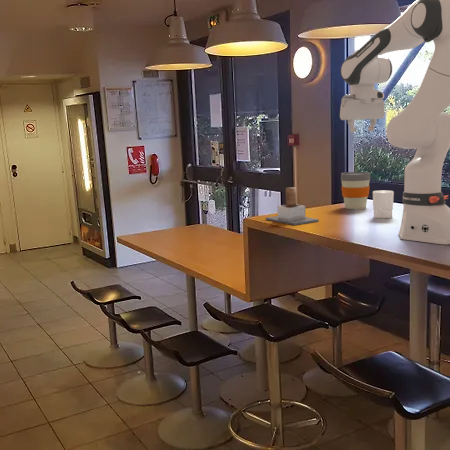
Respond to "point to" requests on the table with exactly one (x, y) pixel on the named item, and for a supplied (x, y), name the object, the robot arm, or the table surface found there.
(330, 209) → the table surface
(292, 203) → the walnut rail post
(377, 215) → the white cup
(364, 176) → the reusable coffee cup
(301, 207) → the cup bracket
